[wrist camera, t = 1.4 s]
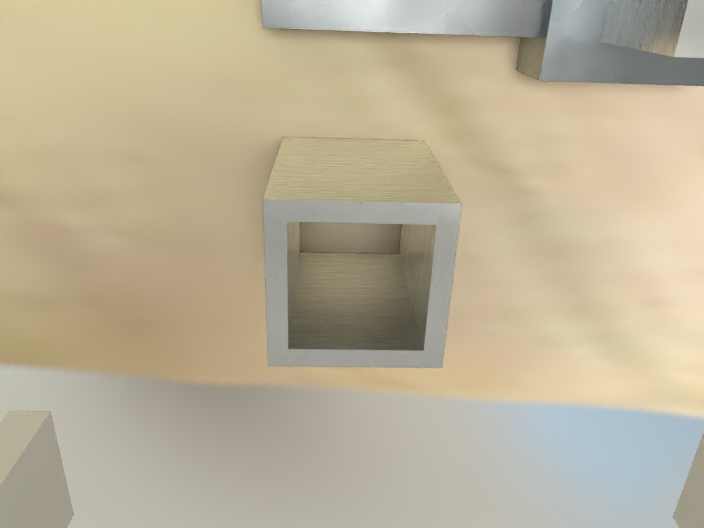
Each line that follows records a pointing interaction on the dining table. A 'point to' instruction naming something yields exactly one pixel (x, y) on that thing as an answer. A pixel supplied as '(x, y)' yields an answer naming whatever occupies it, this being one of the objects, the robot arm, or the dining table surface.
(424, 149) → the socket
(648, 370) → the dining table surface
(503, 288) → the dining table surface
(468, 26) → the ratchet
